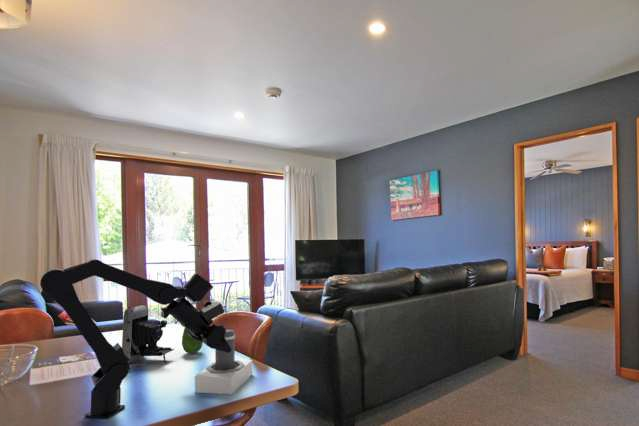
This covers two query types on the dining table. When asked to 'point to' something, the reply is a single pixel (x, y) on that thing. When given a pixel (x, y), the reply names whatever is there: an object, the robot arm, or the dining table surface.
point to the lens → (226, 353)
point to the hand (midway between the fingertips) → (224, 348)
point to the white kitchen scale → (223, 378)
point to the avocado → (190, 343)
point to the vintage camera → (141, 334)
